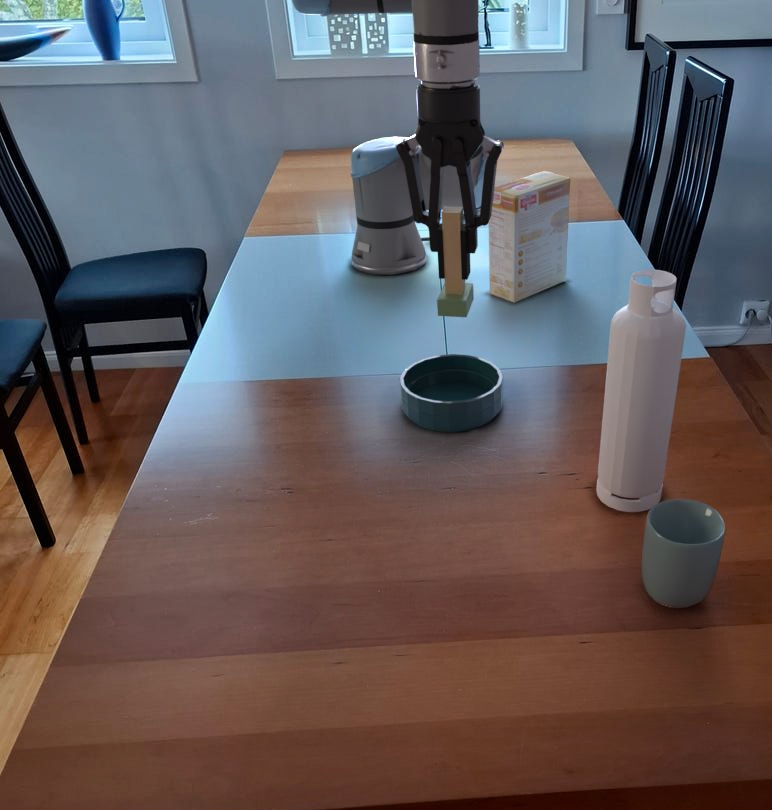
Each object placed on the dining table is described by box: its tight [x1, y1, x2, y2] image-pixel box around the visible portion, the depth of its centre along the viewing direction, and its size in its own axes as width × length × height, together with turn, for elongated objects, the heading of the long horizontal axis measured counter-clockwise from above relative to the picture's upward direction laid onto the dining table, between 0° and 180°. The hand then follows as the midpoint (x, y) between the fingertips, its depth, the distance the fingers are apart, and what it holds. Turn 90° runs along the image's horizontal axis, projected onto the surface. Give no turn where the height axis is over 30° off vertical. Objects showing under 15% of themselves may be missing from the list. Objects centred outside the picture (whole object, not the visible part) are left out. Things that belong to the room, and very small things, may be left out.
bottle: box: [595, 269, 687, 513], centre depth 93 cm, size 8×8×28 cm
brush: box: [436, 207, 474, 318], centre depth 108 cm, size 6×4×13 cm, turn 171°
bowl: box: [399, 353, 504, 433], centre depth 118 cm, size 15×15×5 cm
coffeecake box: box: [488, 170, 571, 304], centre depth 150 cm, size 15×7×20 cm, turn 134°
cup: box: [640, 498, 726, 609], centre depth 84 cm, size 8×8×10 cm
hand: (454, 274), depth 109 cm, fingers closed on brush, 2 cm apart
